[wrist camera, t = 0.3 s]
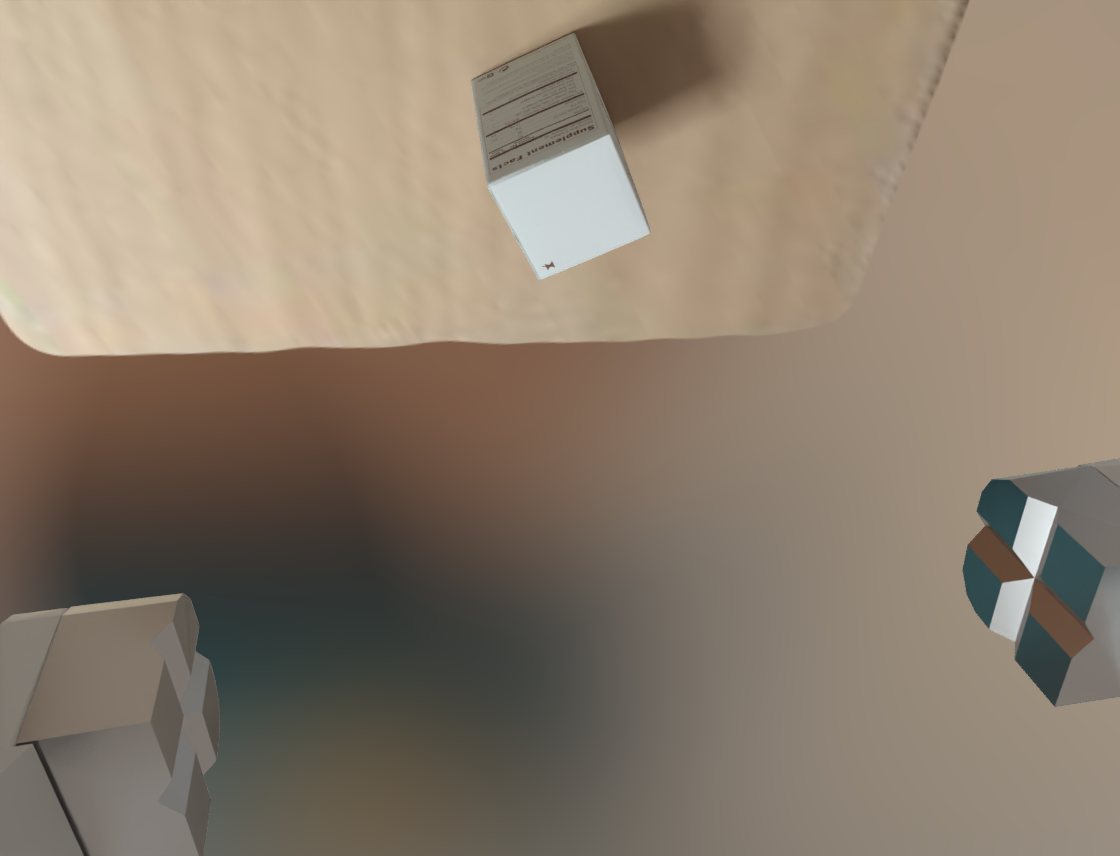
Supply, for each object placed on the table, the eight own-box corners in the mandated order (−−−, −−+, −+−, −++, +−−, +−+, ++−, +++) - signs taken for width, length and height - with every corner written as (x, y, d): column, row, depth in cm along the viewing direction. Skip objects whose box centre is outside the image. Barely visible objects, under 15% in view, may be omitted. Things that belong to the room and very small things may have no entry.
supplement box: (615, 126, 63) (654, 238, 54) (513, 170, 64) (536, 286, 56) (576, 26, 58) (613, 132, 49) (466, 76, 59) (483, 188, 50)
